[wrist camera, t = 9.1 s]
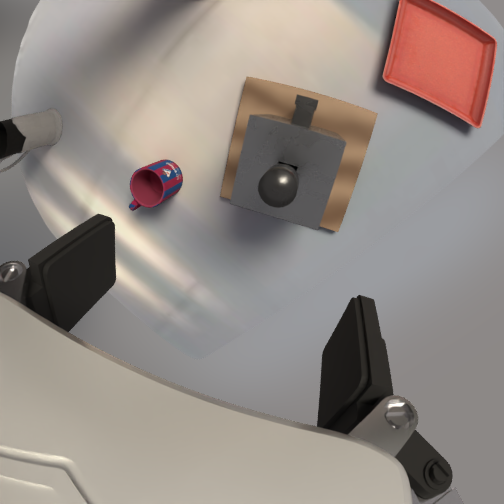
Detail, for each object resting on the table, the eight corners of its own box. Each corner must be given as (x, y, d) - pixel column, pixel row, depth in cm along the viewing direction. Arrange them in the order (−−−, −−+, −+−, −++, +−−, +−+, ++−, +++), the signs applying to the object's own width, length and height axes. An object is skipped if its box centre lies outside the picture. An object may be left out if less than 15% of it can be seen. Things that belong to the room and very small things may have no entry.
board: (248, 77, 40) (246, 76, 38) (375, 113, 38) (377, 113, 37) (222, 194, 49) (220, 196, 48) (337, 228, 48) (337, 232, 46)
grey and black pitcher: (67, 123, 49) (13, 135, 35) (45, 169, 55) (-3, 189, 42) (49, 101, 47) (-3, 110, 34) (29, 147, 53) (-18, 163, 40)
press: (276, 93, 39) (257, 83, 26) (343, 111, 38) (356, 110, 25) (256, 175, 45) (229, 203, 32) (318, 194, 44) (317, 230, 31)
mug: (190, 182, 50) (172, 193, 44) (153, 211, 54) (134, 224, 48) (168, 152, 48) (148, 159, 42) (133, 183, 52) (112, 194, 46)
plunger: (276, 122, 40) (241, 129, 22) (328, 137, 40) (339, 157, 21) (263, 171, 44) (221, 218, 26) (313, 186, 44) (309, 245, 25)
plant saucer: (489, 42, 26) (498, 39, 23) (471, 129, 35) (480, 130, 32) (397, -8, 27) (402, -15, 24) (376, 82, 36) (381, 79, 33)
